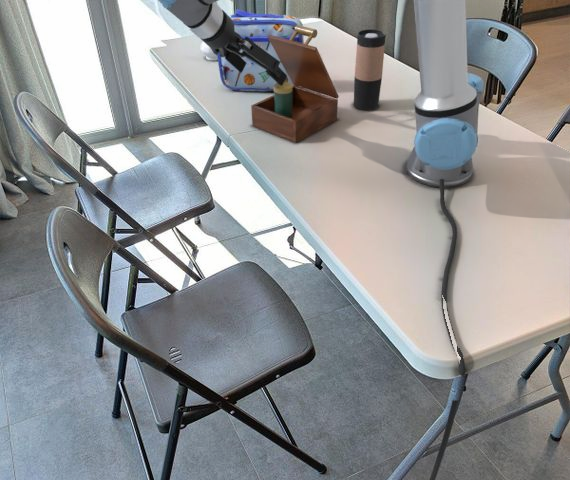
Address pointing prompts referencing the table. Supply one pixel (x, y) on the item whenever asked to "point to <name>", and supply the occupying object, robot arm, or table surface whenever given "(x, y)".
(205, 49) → the flower vase
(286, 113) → the tea tin
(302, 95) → the case
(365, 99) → the travel mug
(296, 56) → the case lid
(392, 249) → the table surface
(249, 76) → the lunch box
